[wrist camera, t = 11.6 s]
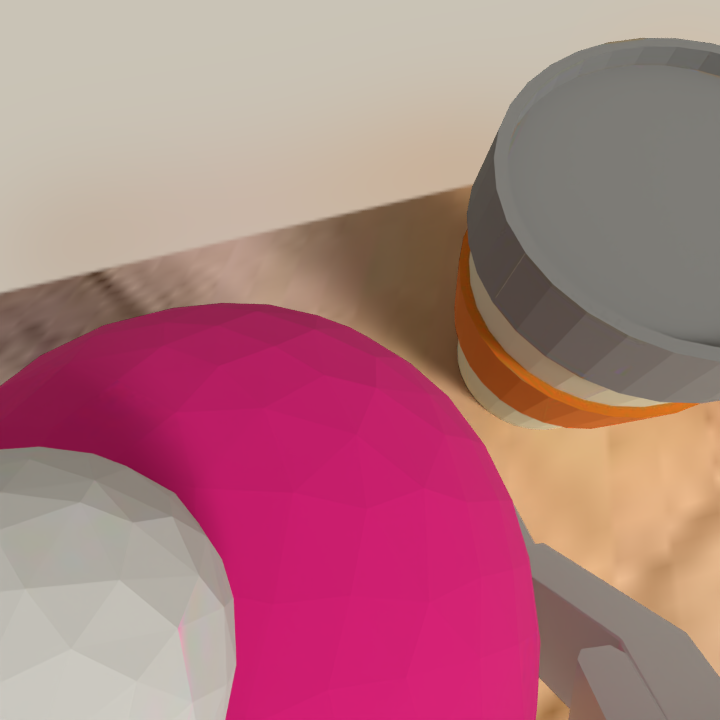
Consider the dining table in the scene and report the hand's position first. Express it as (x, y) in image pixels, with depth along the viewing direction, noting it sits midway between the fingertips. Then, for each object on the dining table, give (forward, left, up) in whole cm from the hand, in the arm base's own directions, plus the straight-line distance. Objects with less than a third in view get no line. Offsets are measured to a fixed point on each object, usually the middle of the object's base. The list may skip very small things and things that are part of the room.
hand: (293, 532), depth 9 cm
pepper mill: (0, 0, -12) cm, 12 cm away
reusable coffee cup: (+5, +14, -17) cm, 23 cm away
